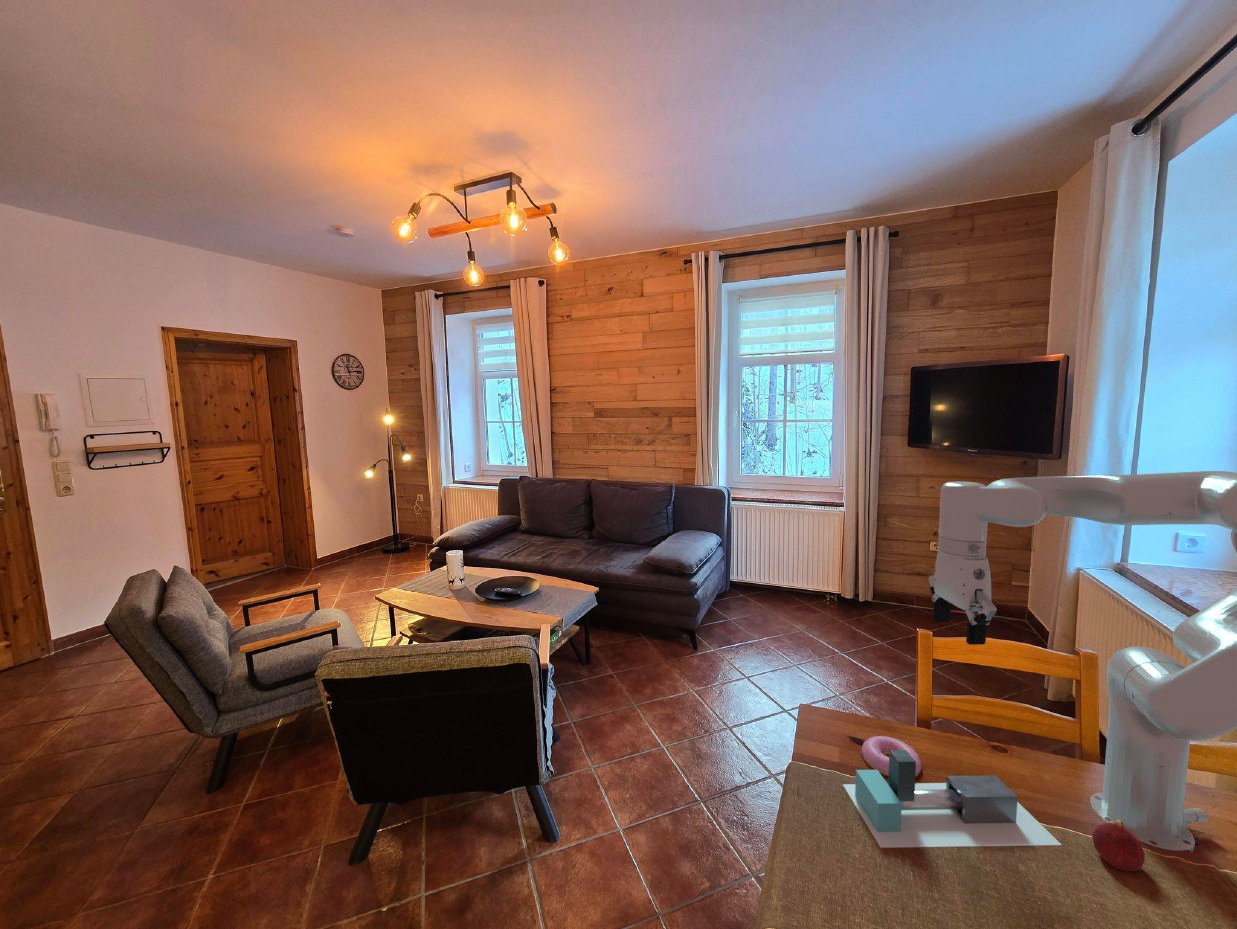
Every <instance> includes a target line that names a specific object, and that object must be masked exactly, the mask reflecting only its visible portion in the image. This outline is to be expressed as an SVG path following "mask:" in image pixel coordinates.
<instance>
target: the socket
mask: <svg viewBox="0 0 1237 929" xmlns="http://www.w3.org/2000/svg"><path fill="white" fill-rule="evenodd" d="M855 784H856V786H855V797H856V798H857V800H858V802H859V803H860V805H861V806H862V808H863V810H864V811H865V813H866V815H867V816H868V818H869V819H870V821H871V823H872V824H873V826H874V828H875V829H876V831H877V832H901V806H902V803H901V802H900V800H899V799H898V798H897V796H896V795H895V793H894V792H893V791H892V789H891V788H890V787H889V785H888V782H887V781H886V779H885V778H884V777H883V774H882V773H880V772H879V771H878V770H875V769H855Z"/></svg>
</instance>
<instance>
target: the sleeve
mask: <svg viewBox="0 0 1237 929" xmlns="http://www.w3.org/2000/svg"><path fill="white" fill-rule="evenodd" d="M945 783H946V789H956V790H957V791H958V792H959V794H960V795H961V796H962V797H963V809H954V810H953V811H954V812H955V813H956V814H957V815H958V817H959V818H960V819H961V820H962V821H963V823H964V824H972V823H1016V815H1017V802H1018V798H1019V797H1018V795H1017V794H1016V793H1015V792H1014V791H1013V790H1012V789H1010V787H1008V785H1006V784H1005V783H1004V782H1003V781H1002V779H1000V777H998V776H997V775H946V782H945Z"/></svg>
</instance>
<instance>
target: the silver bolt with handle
mask: <svg viewBox="0 0 1237 929" xmlns="http://www.w3.org/2000/svg"><path fill="white" fill-rule="evenodd" d="M888 757H889V776H887V777H888V778H887V779H888V782H887V784H888V785H889V787H890V788H891V789H892V791H893V792H894V793H895V795H896V796H897V798H898V799H899V800H900V802H901V803H902V806H901V810H954V809H963V797H962V796H961V795H960V794H959V792H958V791H957V790H956V789H935V790H915V783H916V777H915V772H916V761H915V760H914V759H913V758H912V756H911V755H910V754H909V753H908V752H907V751H906V750H889V756H888Z"/></svg>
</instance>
